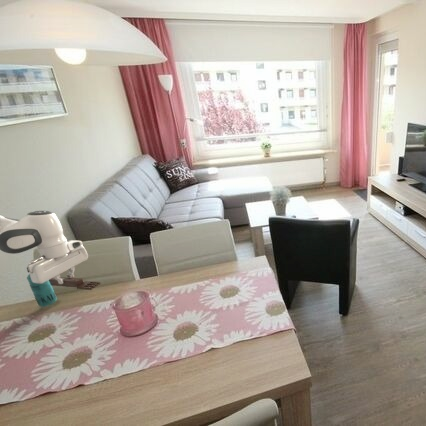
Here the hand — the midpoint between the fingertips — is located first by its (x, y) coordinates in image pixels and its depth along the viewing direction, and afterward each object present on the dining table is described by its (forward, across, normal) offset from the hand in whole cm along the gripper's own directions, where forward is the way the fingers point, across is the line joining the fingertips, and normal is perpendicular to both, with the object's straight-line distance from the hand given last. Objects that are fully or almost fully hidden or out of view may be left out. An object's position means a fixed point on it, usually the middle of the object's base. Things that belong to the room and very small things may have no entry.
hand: (67, 280), depth 119 cm
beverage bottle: (+15, +2, +18) cm, 24 cm away
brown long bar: (+2, 0, -3) cm, 4 cm away
